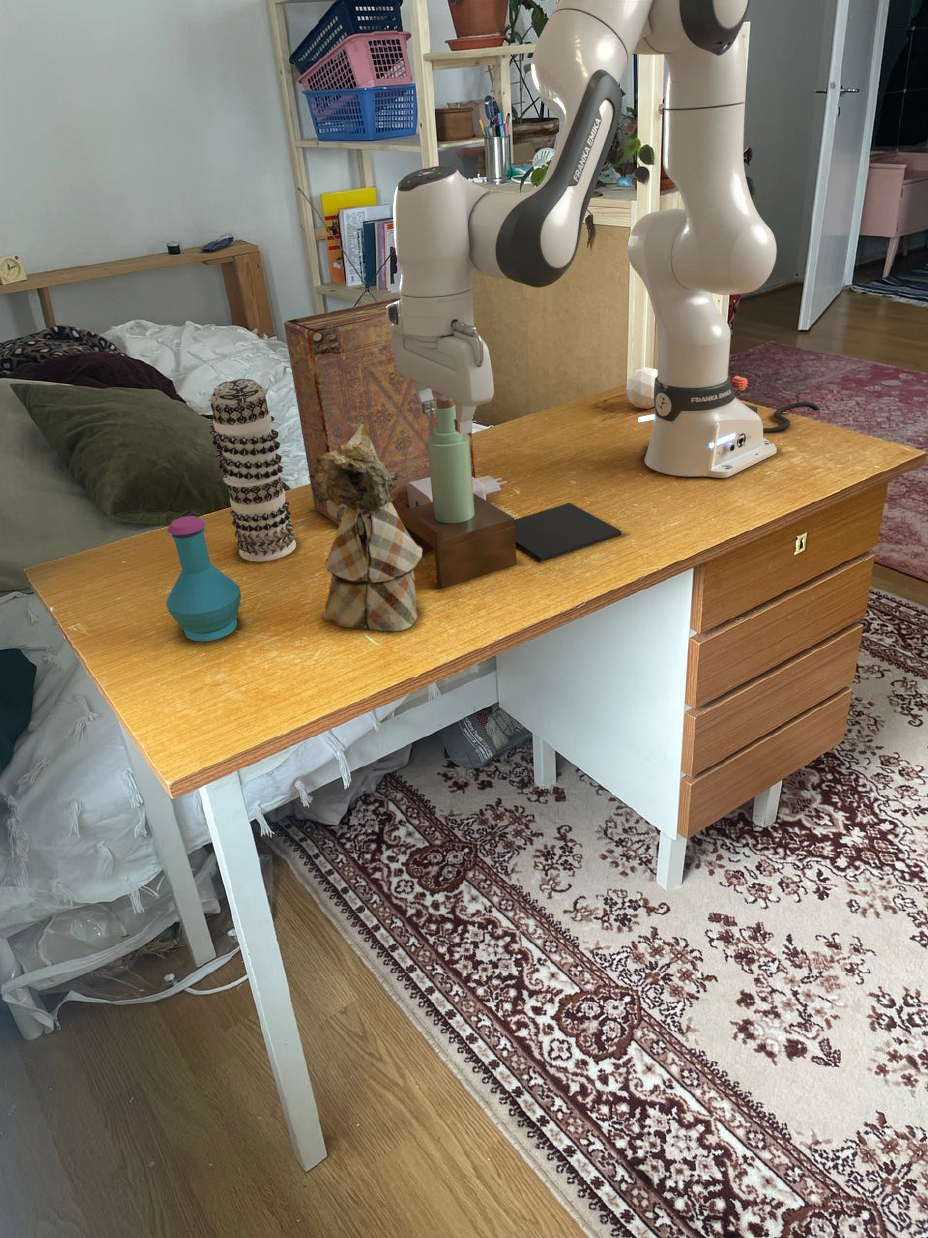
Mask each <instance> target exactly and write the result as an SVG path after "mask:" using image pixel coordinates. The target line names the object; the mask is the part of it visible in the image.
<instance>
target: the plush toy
mask: <svg viewBox="0 0 928 1238" xmlns="http://www.w3.org/2000/svg"><path fill="white" fill-rule="evenodd" d="M316 464H317V465H318V467H315V469H314V472H313V475H310V476H309V475H308V477H309V478H310V477H311V478H314V484H312V488H311V493H312V492H313V494H312V497H313V496H314V498H317V499H318V502H319V504H323V503H324V502H326V501H328V500H331V501H332V502H334V504H335V505H336V506H339V505H341V504H344V505H346V509H345V512H344V515H343V518H342V521H341V523H340V526H339V525H338V526H339V527H338V528H337V531H336V534H335V536H334V539H333V541H332V545H331V547H330V548H331V549H330V551H329V555H328V557H326V560H325V562H324V565H325V567H326V568H325V569H326V570H327V572H329V573H331V576H330V583H329V589H328V594H327V599H326V602H325V611H324V612H323V614H322V621H325V622H329V623H331V624H333V625H335V626H341V627H345V628H351V629H352V628H353V629H364V630H369V631H373V630H374V631H382V632H400V631H401V632H402V631H404V630H407V629H410V628H411V627H412V626H414V625H415V623H416V620H417V618H418V615H419V614H418V611H417V598H416V596H417V595H416V594H417V593H416V592H417V591H416V587H415V584H416V581H415V579H416V578H415V570H414V569H415V567H416V566H417V565H418V564H419V562H420V561H421V560H422V559H423V554H422V551H423V549H422V548H421V547H420V546H419V545H417V544H416V543H415V542H414V540H413V539H412V537H411V536H410V534H409V533H408V532H407V530H406V528H405V526H404V525H403V524H402V522H401V520H400V518H399V516H398V514H397V512H396V510H395V508H394V506H393V504H392V503H391V502H392V499H393V495H391V494H390V492H391V491H392V489H394V488H396V487H397V486H396V485H395V483H394V480H398V479H397V477H398V476H399V474H398V473H393V472H388V470H387V469H386V468H385V466H384V464H383V463H381V462H380V461H379V458H378V457H377V454H376V451H375V448H374V446H373V444H372V442H371V439H370V437H369V434H368V432H367V429H366V427H365V425H364V424H362V425H358V429H357V431H356V433H355V434H354V436H353V437H352V438H351V439H350V440H349V442H348V443H347V444H346V445H340V444H337V449H336V450H335V451H333V452H329V453H324V455H323V456H317V458H316ZM317 481H318V482H317ZM338 503H340V504H338Z"/></svg>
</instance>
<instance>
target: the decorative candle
mask: <svg viewBox="0 0 928 1238" xmlns="http://www.w3.org/2000/svg"><path fill="white" fill-rule="evenodd" d="M267 394H268V389H267V388H265V387H263V386H261V385H260V384H259V383H258V382H257V381H255V380H254V379H251V378H236V379H229V380H226V381H222V382H220V383H219V384H217V385H215V388H214V390H213V393H211V394H210V395H209V396H208V398H207V401H208V402H209V403H210V408H211V412H212V417H213V419H212V425H210V427H209V428H210V430H209V434H210V435H211V436H212V445H213V446H214V447H215V449H217V450H216V455H215V457H216V459H218V460H219V464H218V468H219V469H220V470H221V473H222V475H223V477H222V480H223V482H224V483H225V484H226V485H227V487H228V492H229V493H228V494H229V504H230V506H231V508H230V512H229V514H230V516H232V525H233V526H234V528H235V530H234V533H233V534H234V537H235V538H236V540H237V541H236V546H237V548H239V552H238V553H239V556H240V557H241V558H242V559H243V560H246V561H248V562H249V561H250V562H261V563H263V562H269V561H275V560H279V559H282V558H284V557H286V556H288V555H289V554H291V553H292V552H293V551H294V550H295V549H296V546H297V544H296V543H297V542H296V540H295V535H296V533H295V532H293V530H294V528H293V526H294V523H293V522H292V520H291V513H292V512H291V511H290V510H289V509H290V507H289V506H290V502H289V501H288V500H287V498H286V497H287V496H286V493H285V489H284V488H283V486H282V485H283V483H282V482H283V481H282V478H281V476H282V475H283V471H284V470H283V469H284V466H283V465H280V463H281V462H282V459H283V457H282V455H280V454H278V453H277V450H279V449H280V447H281V443H280V441H278V440H276V439H278V438H279V433H280V432H279V431H277V430H275V429H274V428H271V425H272V423H273V422H274V421H275V417H274V416H272V415H271V411H270V410H269V408H268V401H267V398H266V395H267Z"/></svg>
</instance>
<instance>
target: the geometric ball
mask: <svg viewBox="0 0 928 1238" xmlns="http://www.w3.org/2000/svg"><path fill="white" fill-rule="evenodd" d="M657 371H658V369H656V368H652V367H646V366H643V367H641V368H639V369H636V370H634V371H633V372H632V373H631V375H630V376H629V377H628V379H627V381H626V388H625V391H626V395H627V398H628V399H627V400H628V401H629V402H630V403H631V404H632V405H634V406H635V407H636V408H639V409H645V410H650V409H651V408H655V405H654V383H655V378H656V377H657Z"/></svg>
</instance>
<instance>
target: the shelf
mask: <svg viewBox="0 0 928 1238" xmlns="http://www.w3.org/2000/svg"><path fill="white" fill-rule="evenodd" d="M473 496H474V510H475V515H474V516H473V517H472V518H471V519H469V520H467V521H465V522H461V523H442V522H439V521H437V520H436V519H435V518H434V509H433V502H431V503H427V504H424V505H421V506H417V507H414V508H410V507H409V506H406V505H404V504H403V503H401V502H398V503H395V504H396V512H397V514H398V516H399V518H400V520H401V522H402V524H403V525H404V526H405V528H406V530H407V532H408V533H409V534H410V536H411V537H412V539H413V540H414V542H415V543H416V544H417V545H419V546H420V547H421V548H422V549H423V551H422V555H425V554H429V553H431V552H433V557H434V565H435V576H436V586H437V587H438V588H439V589H441V590H442V589H445V588H448V587H451V586H455V585H457V584H460V583H463V582H466V581H469V580H472V579H475V578H478V577H481V576H484V575H487V574H490V573H493V572H496V571H499V570H502V569H505V568H509V567H511V566H514V565H517V562H518V561H517V548H516V547H517V546H516V541H515V520H516V519H515V517H513V516H512V515H510V514H508V513H507V512H506V511H504V510H502V509H500V508H499V507H497V506H495V504H492V503H490V501H487V499H486V500H484V499H482V498H481V497H479V496H478V495H476V494H474V493H473Z"/></svg>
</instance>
